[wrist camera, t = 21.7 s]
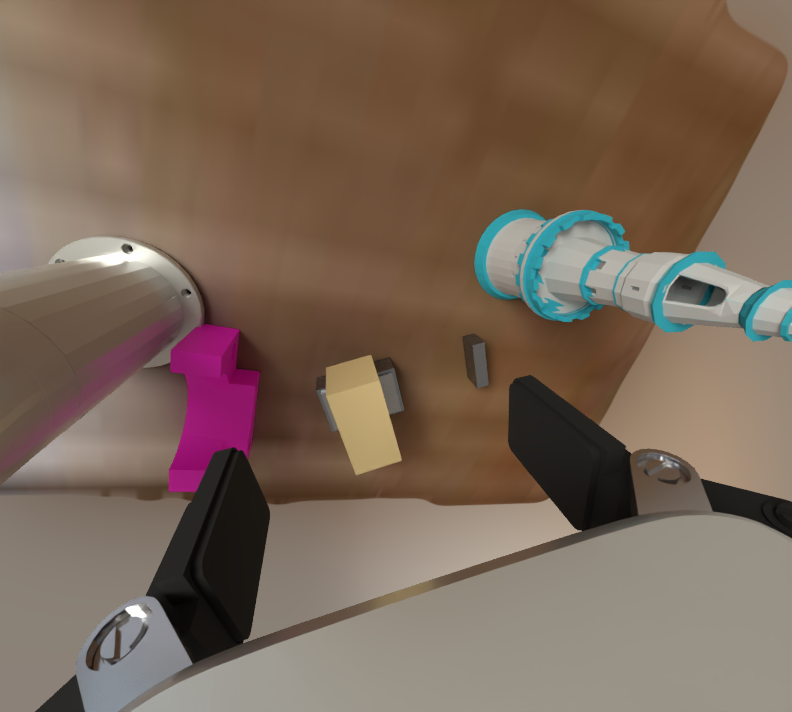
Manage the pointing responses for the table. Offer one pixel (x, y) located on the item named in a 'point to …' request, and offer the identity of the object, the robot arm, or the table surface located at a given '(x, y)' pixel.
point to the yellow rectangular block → (361, 414)
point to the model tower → (621, 277)
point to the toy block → (211, 402)
